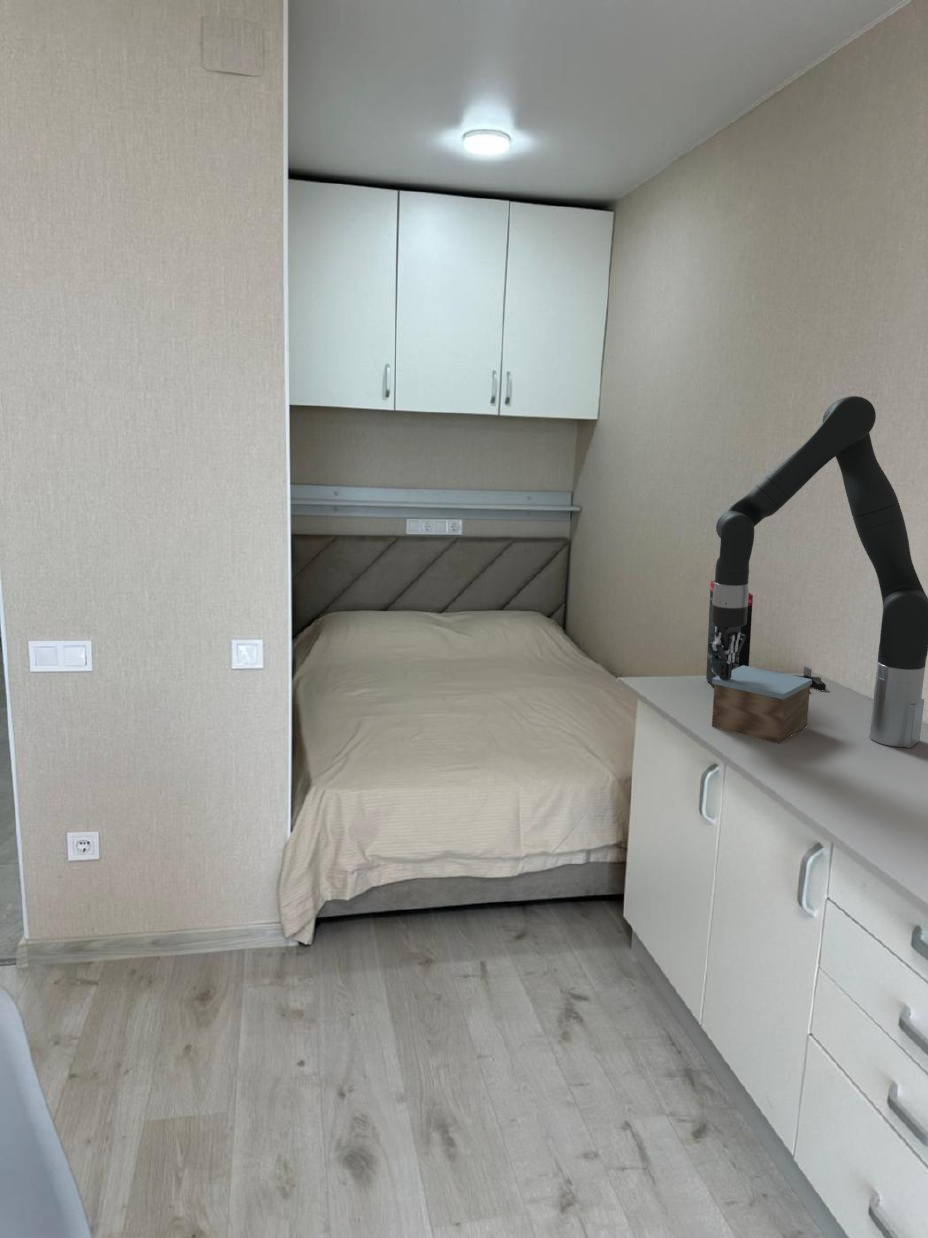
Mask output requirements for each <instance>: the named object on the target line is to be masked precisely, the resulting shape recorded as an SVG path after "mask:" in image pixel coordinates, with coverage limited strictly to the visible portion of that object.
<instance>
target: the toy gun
mask: <svg viewBox="0 0 928 1238" xmlns="http://www.w3.org/2000/svg"><path fill="white" fill-rule="evenodd" d="M812 670H813V669H812V668H811V667H808V666H806V665H805V666H804V667H803V673H802V674H803V675H794V674H792V675H793V676H798V677H803V678H808V679H812V685H810V688H813V687H814V689H815V688H816V689H818V690H825V691H826V688H827V687H826V686H827V685H826V683H825V682H823V680H822V678H821V677H820V676H813V675H812ZM816 689H815V690H816Z"/></svg>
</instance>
